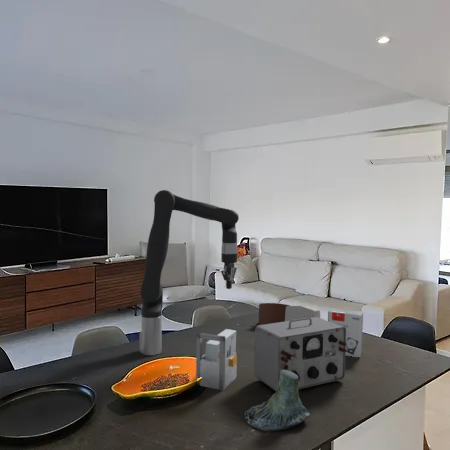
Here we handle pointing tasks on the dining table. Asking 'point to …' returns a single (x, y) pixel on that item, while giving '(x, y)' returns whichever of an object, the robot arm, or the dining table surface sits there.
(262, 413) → the tree stump
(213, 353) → the skincare box
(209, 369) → the rack bay
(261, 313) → the letter holder
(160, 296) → the robot arm
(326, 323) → the vintage electronic device
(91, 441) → the dining table surface
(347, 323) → the hard drive box
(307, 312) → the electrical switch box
